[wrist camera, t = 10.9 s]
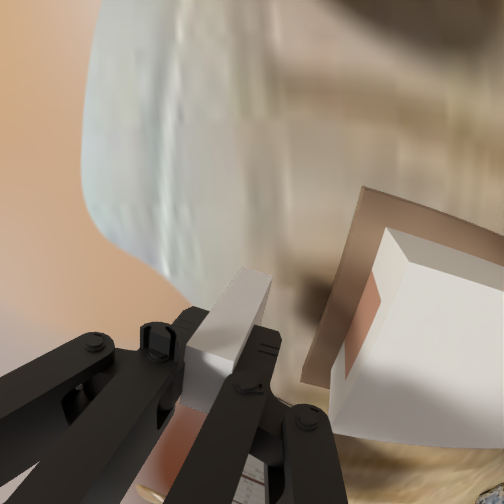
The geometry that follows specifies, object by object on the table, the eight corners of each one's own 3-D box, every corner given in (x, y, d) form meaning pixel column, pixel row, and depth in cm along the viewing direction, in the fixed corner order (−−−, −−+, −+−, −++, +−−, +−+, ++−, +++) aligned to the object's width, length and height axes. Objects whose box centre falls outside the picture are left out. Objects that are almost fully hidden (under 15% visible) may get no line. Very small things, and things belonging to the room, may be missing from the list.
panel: (385, 226, 15) (409, 261, 10) (576, 296, 12) (615, 332, 8) (331, 369, 18) (327, 431, 13) (517, 400, 16) (538, 446, 11)
